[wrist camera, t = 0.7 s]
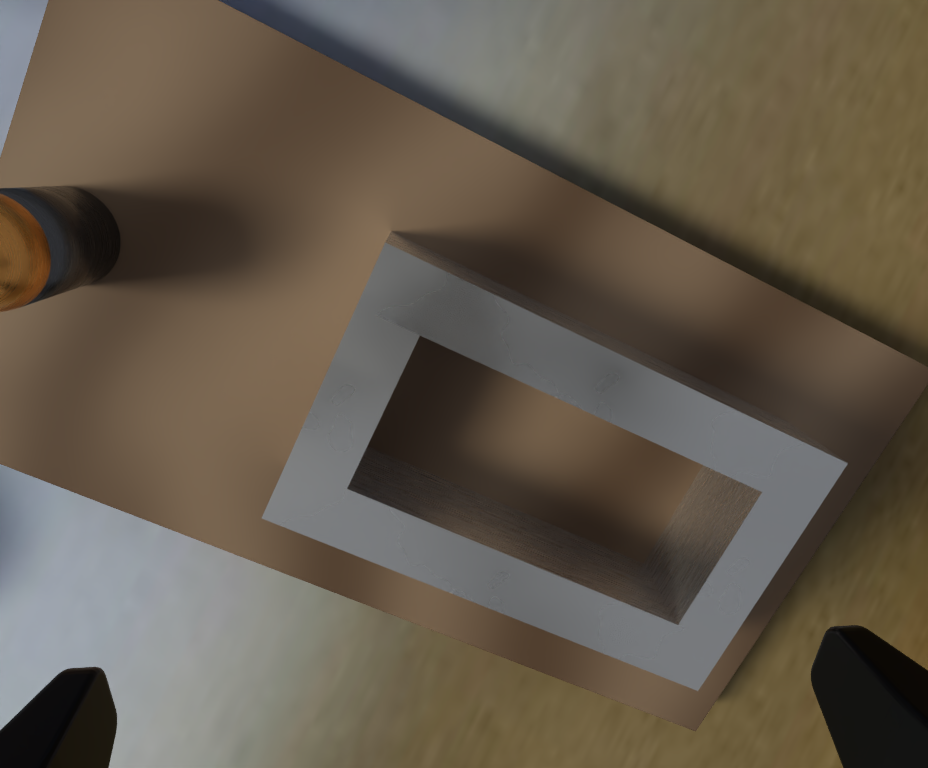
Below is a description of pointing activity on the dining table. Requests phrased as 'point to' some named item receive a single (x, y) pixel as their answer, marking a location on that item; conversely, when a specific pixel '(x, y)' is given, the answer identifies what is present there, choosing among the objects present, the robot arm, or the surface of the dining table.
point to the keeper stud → (52, 242)
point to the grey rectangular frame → (523, 536)
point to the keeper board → (334, 301)
